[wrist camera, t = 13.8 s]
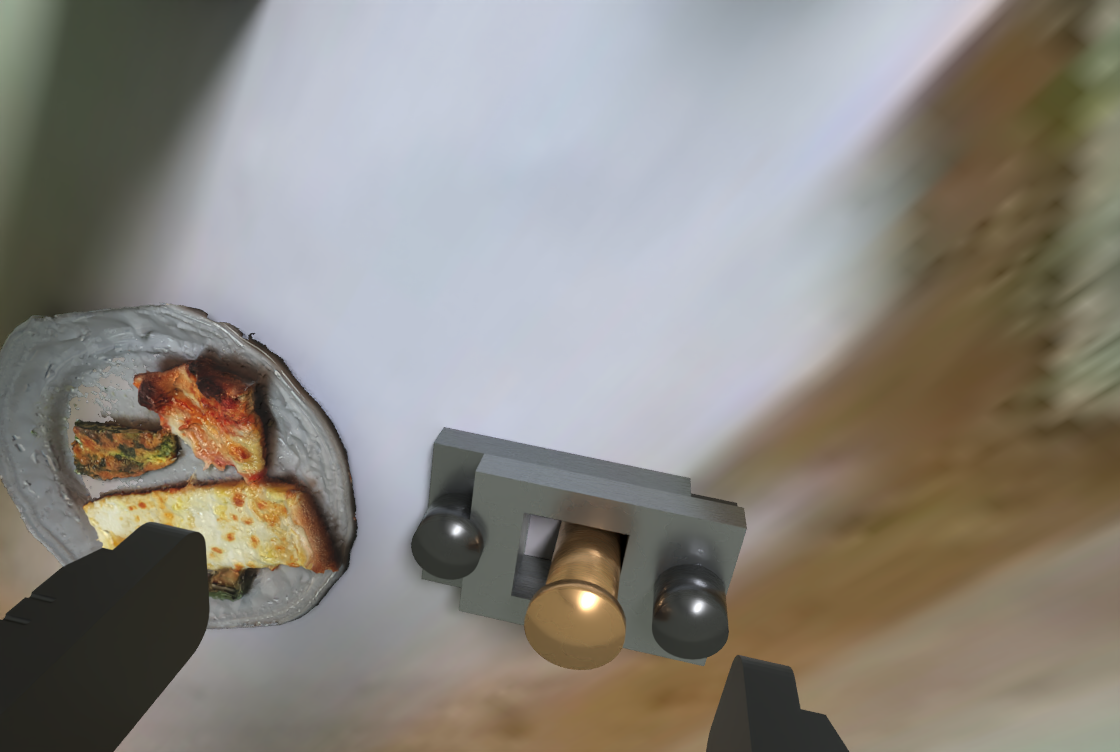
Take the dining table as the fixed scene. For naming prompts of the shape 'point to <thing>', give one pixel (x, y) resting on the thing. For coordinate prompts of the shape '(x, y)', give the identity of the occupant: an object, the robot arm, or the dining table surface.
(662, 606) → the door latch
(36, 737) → the robot arm
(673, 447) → the dining table surface
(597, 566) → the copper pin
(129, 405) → the food plate
